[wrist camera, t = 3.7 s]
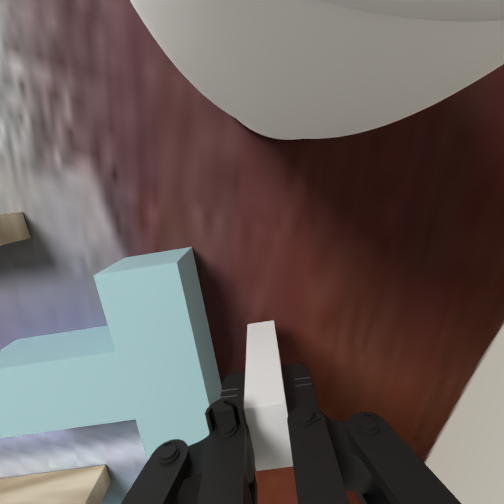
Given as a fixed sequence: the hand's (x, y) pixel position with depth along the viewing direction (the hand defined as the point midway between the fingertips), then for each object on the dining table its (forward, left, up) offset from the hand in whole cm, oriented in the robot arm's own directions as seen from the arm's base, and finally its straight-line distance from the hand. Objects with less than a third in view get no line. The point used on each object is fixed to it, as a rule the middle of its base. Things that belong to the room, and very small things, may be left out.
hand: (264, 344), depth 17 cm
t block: (0, -9, -1) cm, 9 cm away
